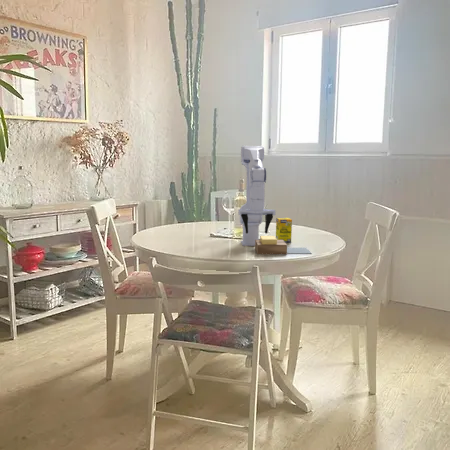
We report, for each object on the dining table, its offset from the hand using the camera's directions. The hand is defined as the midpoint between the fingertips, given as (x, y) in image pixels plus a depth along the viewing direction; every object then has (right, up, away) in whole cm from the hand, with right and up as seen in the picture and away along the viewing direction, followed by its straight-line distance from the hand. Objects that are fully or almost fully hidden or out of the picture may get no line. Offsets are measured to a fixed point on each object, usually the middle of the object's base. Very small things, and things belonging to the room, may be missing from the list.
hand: (256, 233), depth 192 cm
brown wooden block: (+7, -8, +12) cm, 16 cm away
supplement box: (+15, -5, +33) cm, 37 cm away
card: (+6, -4, +12) cm, 13 cm away
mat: (+18, -8, +14) cm, 24 cm away
